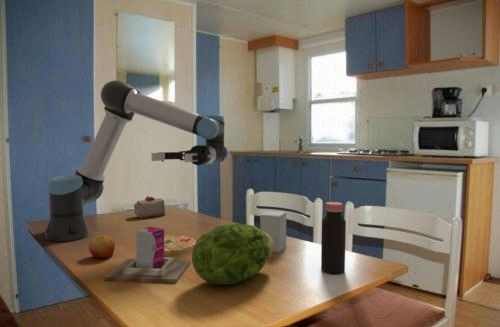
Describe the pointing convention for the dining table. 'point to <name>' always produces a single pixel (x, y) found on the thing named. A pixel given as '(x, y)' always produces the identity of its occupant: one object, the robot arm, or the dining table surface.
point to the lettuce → (231, 253)
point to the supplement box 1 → (150, 248)
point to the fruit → (102, 246)
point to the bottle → (333, 239)
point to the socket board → (149, 271)
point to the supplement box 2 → (275, 228)
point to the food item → (149, 207)
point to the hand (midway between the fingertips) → (168, 157)
